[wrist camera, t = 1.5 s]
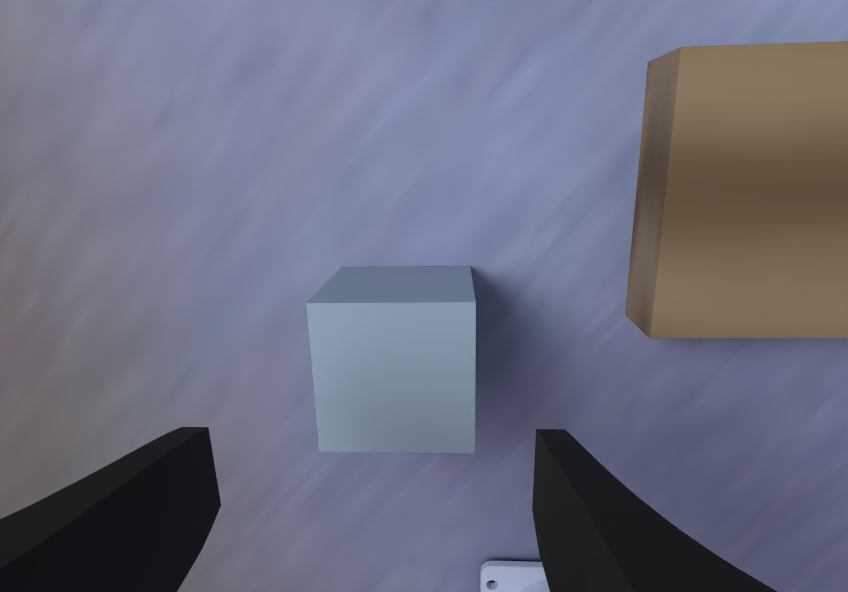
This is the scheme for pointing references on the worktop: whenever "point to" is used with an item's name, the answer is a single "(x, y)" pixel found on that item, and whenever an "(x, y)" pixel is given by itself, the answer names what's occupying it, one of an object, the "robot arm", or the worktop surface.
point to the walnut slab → (743, 194)
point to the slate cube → (395, 359)
